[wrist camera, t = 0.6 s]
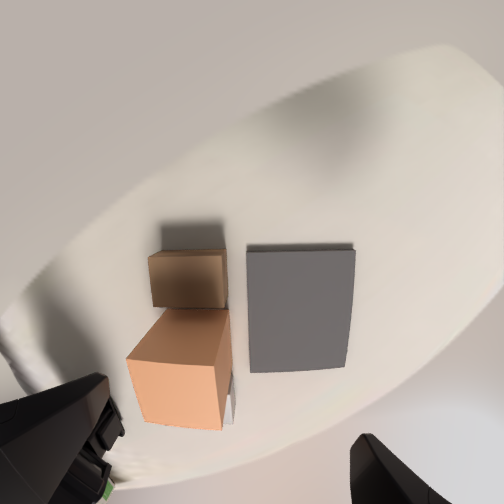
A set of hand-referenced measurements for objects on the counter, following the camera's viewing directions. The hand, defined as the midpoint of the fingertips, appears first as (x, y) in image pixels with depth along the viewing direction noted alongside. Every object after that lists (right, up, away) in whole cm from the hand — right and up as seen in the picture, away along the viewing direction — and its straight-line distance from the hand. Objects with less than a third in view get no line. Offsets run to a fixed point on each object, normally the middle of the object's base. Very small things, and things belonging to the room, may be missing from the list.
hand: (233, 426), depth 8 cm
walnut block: (-4, +4, +13) cm, 14 cm away
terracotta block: (-4, -1, +14) cm, 14 cm away
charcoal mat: (+4, +1, +13) cm, 14 cm away
